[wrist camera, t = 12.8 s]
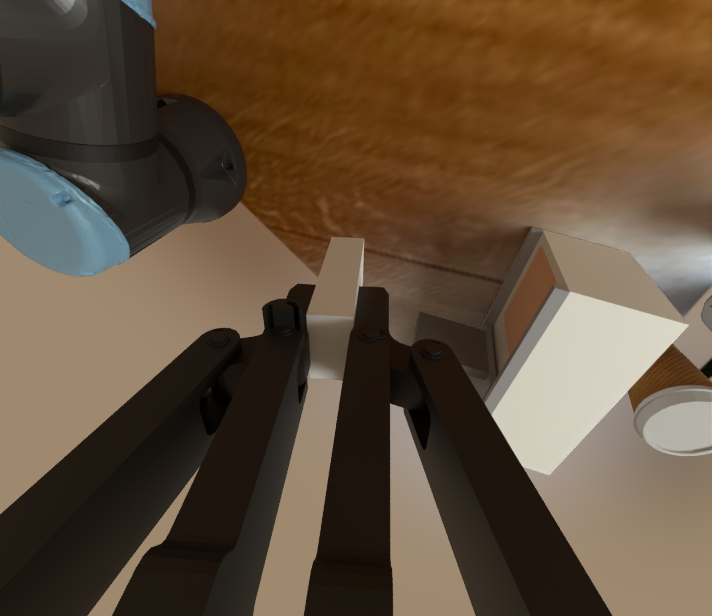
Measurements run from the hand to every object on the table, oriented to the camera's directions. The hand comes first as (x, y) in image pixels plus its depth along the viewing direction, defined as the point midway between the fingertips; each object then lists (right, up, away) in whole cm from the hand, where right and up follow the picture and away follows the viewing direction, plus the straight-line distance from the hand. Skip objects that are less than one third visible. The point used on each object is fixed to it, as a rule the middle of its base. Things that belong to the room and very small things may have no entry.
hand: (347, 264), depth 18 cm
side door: (+13, -7, +37) cm, 40 cm away
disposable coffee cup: (+39, -8, +31) cm, 50 cm away
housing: (+24, -4, +32) cm, 41 cm away
